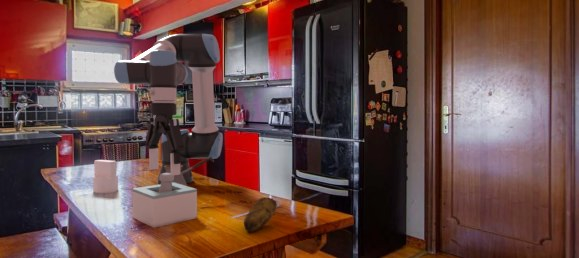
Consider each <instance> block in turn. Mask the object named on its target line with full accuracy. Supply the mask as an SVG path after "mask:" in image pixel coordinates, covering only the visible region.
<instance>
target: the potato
mask: <svg viewBox="0 0 579 258" xmlns="http://www.w3.org/2000/svg"><path fill="white" fill-rule="evenodd" d="M277 206H278V205H277V203H276V200H274V198H271V197H261V198H259V199H258V200H257V201H256V202H255V203H254V204H253V206H252V207H251V209H250V210H249V211H248V212H249V213H248V214H247V215H245V216H244V217H245V218H244V220H243V226H244V229H245V230H246V231H247V232H249V233H253V232H256V231H258V230H259V229H261V228H262V227H264V225H266V224H267V223H268V222H269V221H270V219H271V218H272V217H273V216H275V213H276V212H277V208H278V207H277Z"/></svg>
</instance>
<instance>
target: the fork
mask: <svg viewBox="0 0 579 258" xmlns="http://www.w3.org/2000/svg"><path fill="white" fill-rule="evenodd" d="M276 203H277V208H278V207H280V206H281V205H282V204H283V203H284V202H282V201H277V202H276ZM249 212H250V211H248V212H244V213H241V214H237V215H234V216H231V219H237V218H240V217H243V216H244V217H245V216H247V214H248V213H249ZM236 217H237V218H236Z"/></svg>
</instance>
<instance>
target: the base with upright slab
mask: <svg viewBox="0 0 579 258" xmlns="http://www.w3.org/2000/svg"><path fill="white" fill-rule="evenodd" d="M93 162H94V165H93V167H94V175H92V187H93V188H92V189H93V193H95V194H108V193H109V194H110V193H114V192H117V191H118V190H119V174H117V161H116V160H110V159H108V160H107V159H96V160H94V161H93Z"/></svg>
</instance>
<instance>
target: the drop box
mask: <svg viewBox="0 0 579 258" xmlns="http://www.w3.org/2000/svg"><path fill="white" fill-rule="evenodd" d="M160 185H161V184H154V185H148V186H147V185H146V186H141V187H133V188H131V197H132V202H131V203H132V218H133V219H135V220H137V221H139V222H141V223H143V224H145V225H147V226H150V228H151V227H152V228H153V229H155V228H158V227H164V226H169V225H172V224H177V223H182V222H185V221H190V220H194V219H198V203H197V202H198V189H197V188H194V187H191V186H188V185H187V186H185V185H181V184H178V183H174V182H173V183H172V189H173V191H168V192H162V193H159V189H160Z"/></svg>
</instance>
